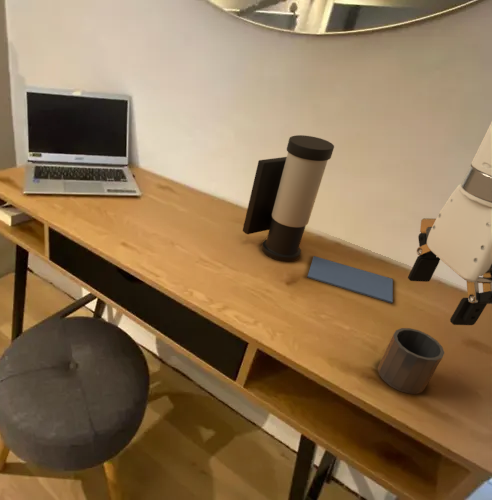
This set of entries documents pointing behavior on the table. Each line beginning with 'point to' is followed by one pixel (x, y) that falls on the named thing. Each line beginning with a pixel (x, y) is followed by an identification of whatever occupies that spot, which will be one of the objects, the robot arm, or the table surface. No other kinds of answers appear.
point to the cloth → (352, 279)
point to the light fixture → (287, 195)
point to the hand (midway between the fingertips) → (438, 300)
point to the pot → (410, 360)
